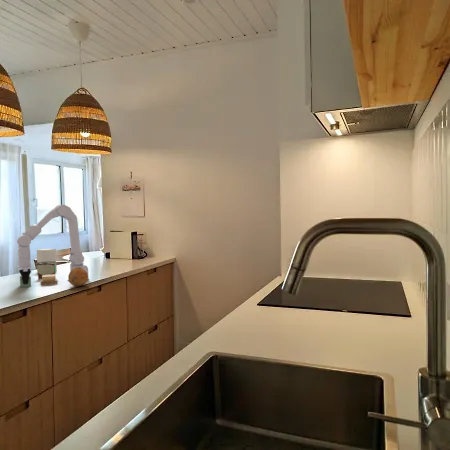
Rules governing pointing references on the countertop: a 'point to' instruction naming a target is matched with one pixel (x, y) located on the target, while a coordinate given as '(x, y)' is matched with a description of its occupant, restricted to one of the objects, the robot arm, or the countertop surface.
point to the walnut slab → (49, 282)
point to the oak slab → (48, 277)
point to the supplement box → (46, 255)
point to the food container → (45, 268)
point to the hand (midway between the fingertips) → (25, 283)
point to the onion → (78, 276)
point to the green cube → (25, 284)
